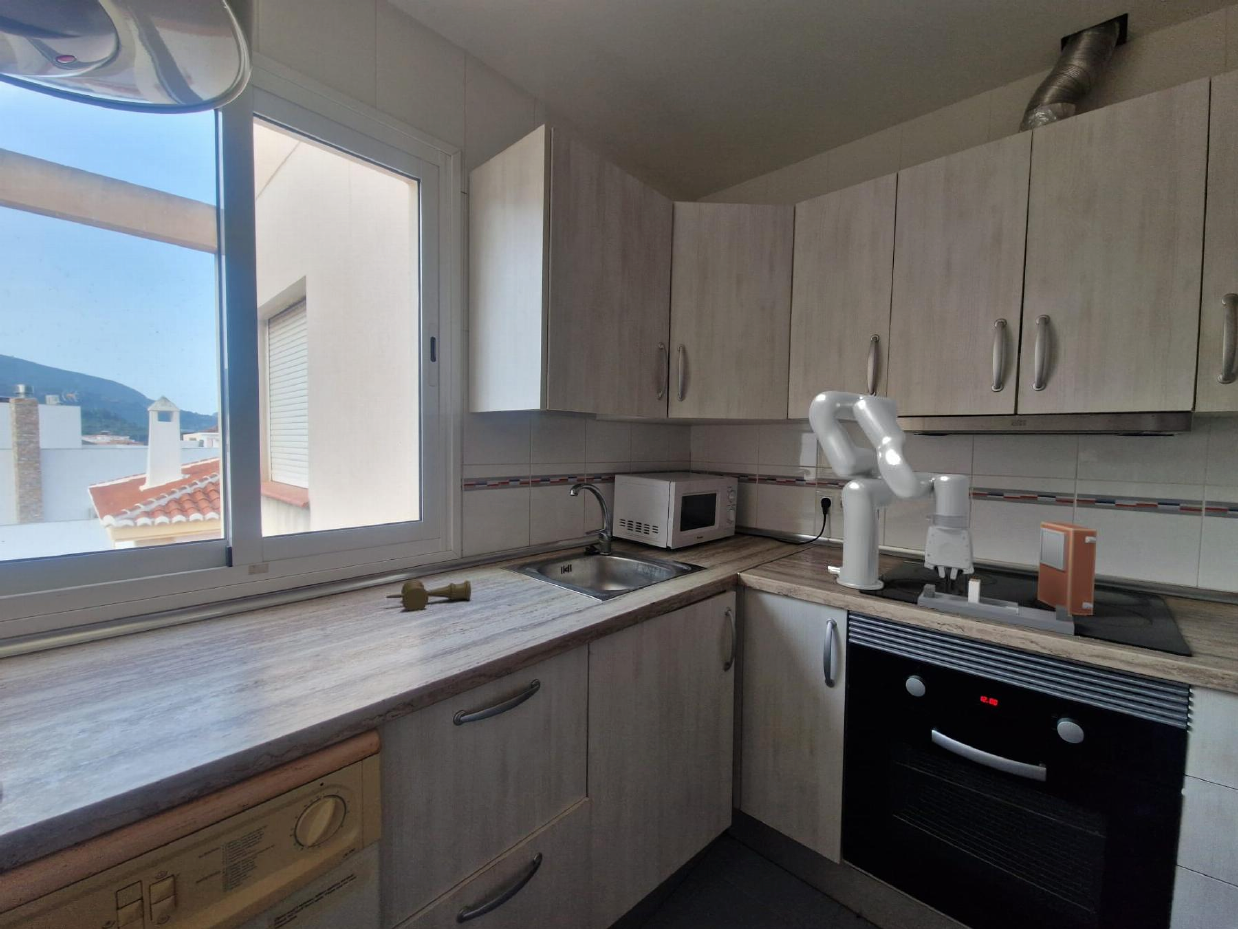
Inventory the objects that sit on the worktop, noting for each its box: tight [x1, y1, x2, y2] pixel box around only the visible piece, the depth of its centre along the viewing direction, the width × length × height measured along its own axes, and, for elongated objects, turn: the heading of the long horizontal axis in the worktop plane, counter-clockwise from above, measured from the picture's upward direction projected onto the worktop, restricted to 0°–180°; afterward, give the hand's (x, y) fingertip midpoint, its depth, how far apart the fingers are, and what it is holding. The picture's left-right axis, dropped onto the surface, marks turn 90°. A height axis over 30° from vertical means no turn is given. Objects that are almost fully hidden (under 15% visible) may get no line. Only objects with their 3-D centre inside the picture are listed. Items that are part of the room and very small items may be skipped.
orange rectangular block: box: [1037, 521, 1098, 616], centre depth 130 cm, size 21×7×15 cm
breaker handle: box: [967, 578, 981, 603], centre depth 126 cm, size 2×4×6 cm, turn 140°
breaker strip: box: [917, 583, 1075, 636], centre depth 124 cm, size 30×10×4 cm, turn 50°
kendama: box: [385, 579, 472, 612], centre depth 127 cm, size 6×10×20 cm
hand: (947, 592), depth 130 cm, fingers closed
